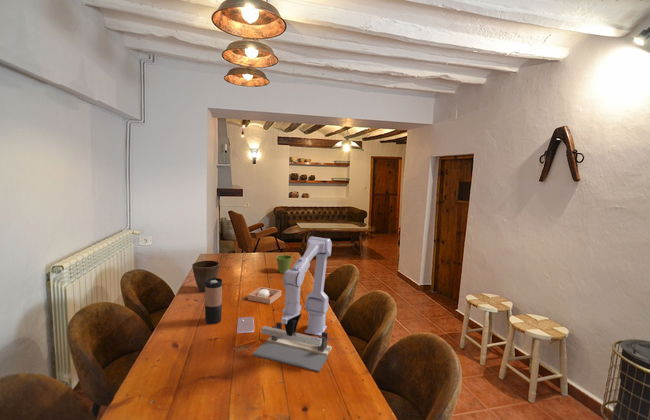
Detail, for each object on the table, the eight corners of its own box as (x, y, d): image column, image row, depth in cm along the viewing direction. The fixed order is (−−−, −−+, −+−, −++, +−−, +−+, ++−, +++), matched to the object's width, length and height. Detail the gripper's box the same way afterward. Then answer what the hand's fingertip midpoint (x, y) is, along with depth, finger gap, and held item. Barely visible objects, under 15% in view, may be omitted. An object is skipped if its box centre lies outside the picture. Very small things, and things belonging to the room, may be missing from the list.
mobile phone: (236, 332, 144) (237, 317, 158) (236, 334, 144) (237, 318, 158) (254, 330, 146) (253, 316, 160) (254, 332, 146) (253, 318, 160)
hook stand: (273, 335, 143) (274, 320, 143) (331, 348, 135) (332, 333, 134) (266, 342, 138) (267, 326, 137) (327, 356, 129) (328, 339, 129)
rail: (263, 330, 132) (264, 325, 132) (321, 343, 124) (322, 338, 124) (261, 333, 130) (261, 328, 130) (319, 346, 122) (320, 341, 122)
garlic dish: (260, 291, 195) (260, 286, 194) (281, 295, 190) (281, 290, 190) (247, 299, 181) (247, 294, 181) (270, 304, 177) (270, 298, 177)
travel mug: (217, 316, 160) (217, 276, 157) (224, 321, 154) (225, 281, 152) (202, 320, 154) (202, 279, 152) (209, 326, 149) (209, 284, 147)
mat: (264, 343, 137) (264, 341, 137) (327, 357, 128) (327, 356, 128) (252, 355, 127) (252, 353, 127) (319, 372, 119) (319, 370, 119)
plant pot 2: (283, 268, 243) (283, 253, 242) (295, 272, 236) (295, 257, 235) (271, 271, 233) (272, 256, 232) (283, 275, 226) (284, 260, 225)
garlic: (260, 293, 193) (260, 286, 192) (271, 294, 192) (271, 288, 191) (255, 298, 185) (255, 291, 185) (266, 299, 184) (267, 293, 184)
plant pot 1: (197, 296, 182) (197, 269, 180) (188, 288, 193) (188, 262, 191) (222, 291, 192) (223, 265, 190) (212, 284, 203) (213, 259, 201)
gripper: (290, 292, 133) (289, 323, 135) (274, 305, 120) (273, 340, 121) (306, 295, 131) (305, 327, 133) (292, 309, 117) (290, 344, 119)
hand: (291, 333), depth 127 cm, fingers closed on rail, 2 cm apart
